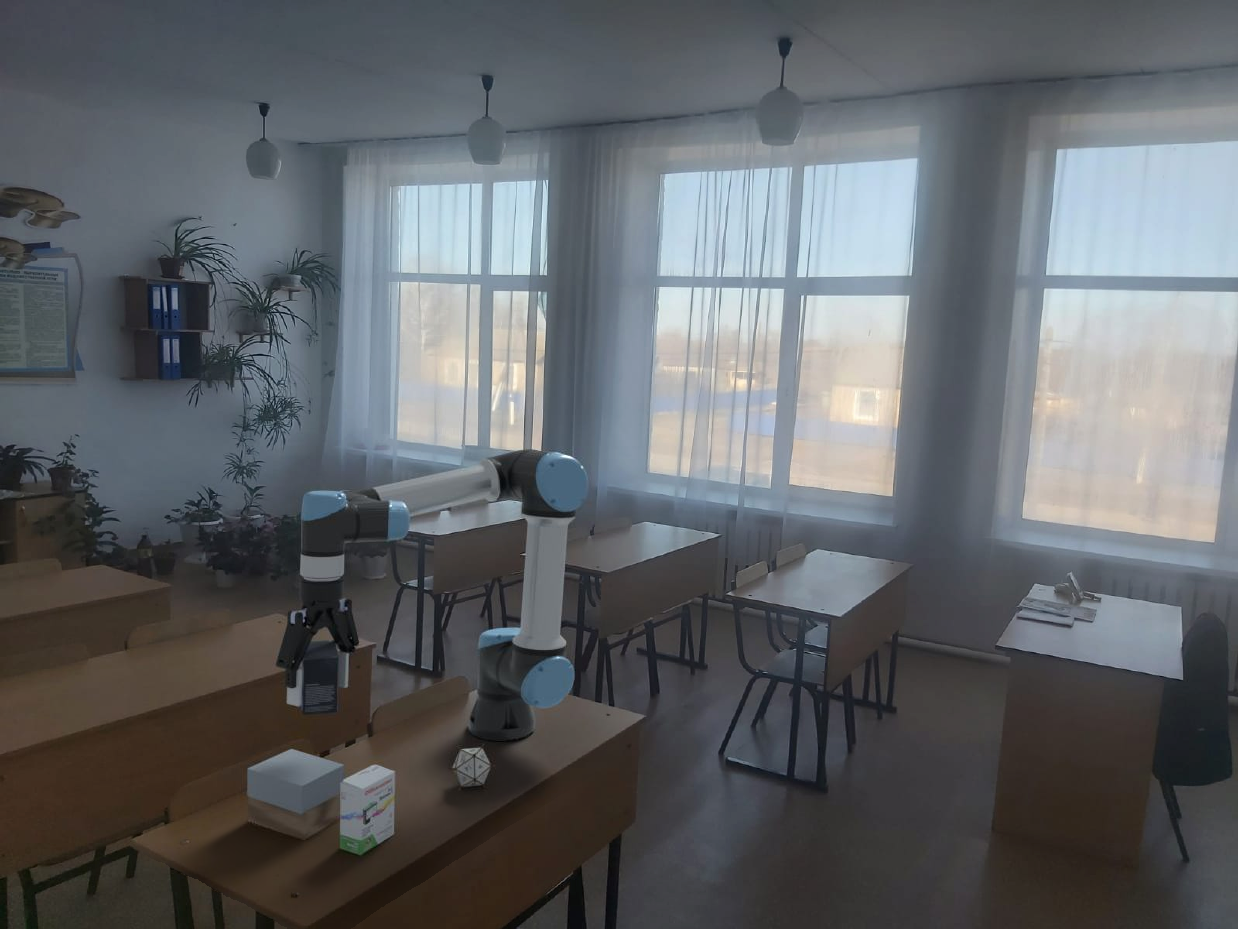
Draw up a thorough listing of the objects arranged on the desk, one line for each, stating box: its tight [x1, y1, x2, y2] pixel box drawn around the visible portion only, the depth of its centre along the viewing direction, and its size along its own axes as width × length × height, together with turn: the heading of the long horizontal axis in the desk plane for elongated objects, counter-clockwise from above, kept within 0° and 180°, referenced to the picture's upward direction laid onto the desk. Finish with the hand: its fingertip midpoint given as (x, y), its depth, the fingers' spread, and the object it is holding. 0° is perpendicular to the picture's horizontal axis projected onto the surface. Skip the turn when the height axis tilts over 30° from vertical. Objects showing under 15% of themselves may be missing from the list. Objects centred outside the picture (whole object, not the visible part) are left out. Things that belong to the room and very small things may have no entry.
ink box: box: [339, 764, 396, 856], centre depth 152 cm, size 8×5×12 cm, turn 153°
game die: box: [447, 743, 496, 792], centre depth 175 cm, size 9×8×10 cm
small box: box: [299, 639, 339, 716], centre depth 163 cm, size 11×6×10 cm, turn 22°
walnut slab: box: [247, 794, 340, 841], centre depth 160 cm, size 10×13×5 cm
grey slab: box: [246, 748, 345, 814], centre depth 159 cm, size 10×13×5 cm
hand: (318, 695), depth 163 cm, fingers closed on small box, 11 cm apart
